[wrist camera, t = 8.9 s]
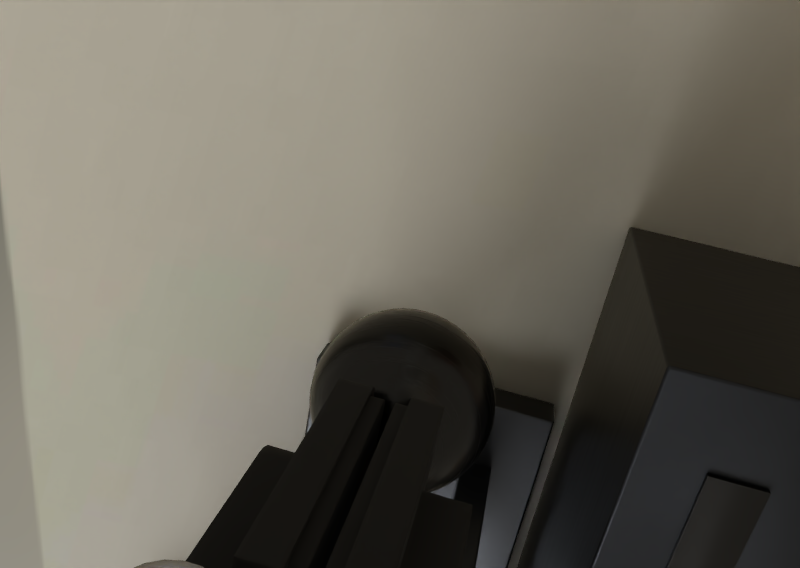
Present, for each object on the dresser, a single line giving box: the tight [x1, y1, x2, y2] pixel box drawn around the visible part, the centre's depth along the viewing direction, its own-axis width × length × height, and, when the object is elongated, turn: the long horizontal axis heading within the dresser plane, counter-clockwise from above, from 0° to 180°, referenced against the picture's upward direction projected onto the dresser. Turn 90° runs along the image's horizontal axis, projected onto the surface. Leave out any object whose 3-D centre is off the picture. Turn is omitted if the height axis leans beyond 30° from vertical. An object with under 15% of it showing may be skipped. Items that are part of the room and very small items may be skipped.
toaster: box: [517, 227, 800, 568], centre depth 20 cm, size 14×7×9 cm, turn 170°
